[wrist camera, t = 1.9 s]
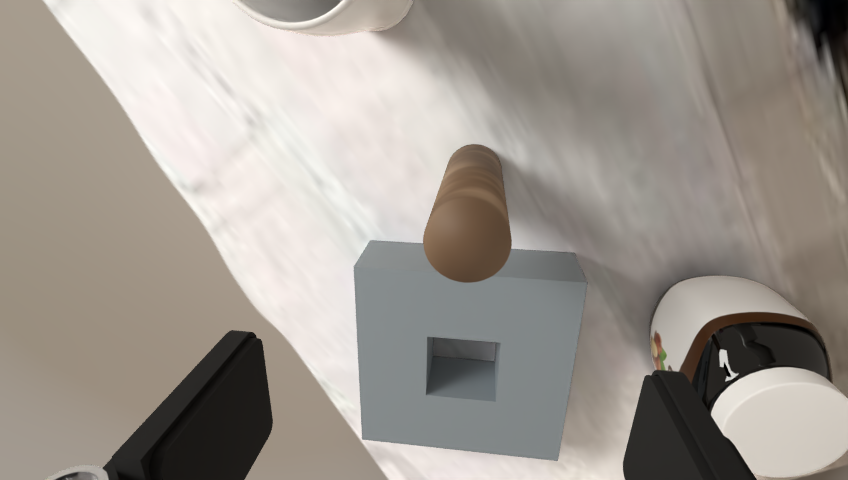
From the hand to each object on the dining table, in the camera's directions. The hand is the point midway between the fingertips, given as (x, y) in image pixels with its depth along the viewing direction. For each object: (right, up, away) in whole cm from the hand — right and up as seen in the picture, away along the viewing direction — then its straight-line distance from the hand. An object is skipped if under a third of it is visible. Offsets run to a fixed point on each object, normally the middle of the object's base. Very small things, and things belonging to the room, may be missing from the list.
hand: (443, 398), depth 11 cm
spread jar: (+23, -3, +25) cm, 34 cm away
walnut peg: (+3, +9, +22) cm, 24 cm away
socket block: (+3, -4, +28) cm, 28 cm away
